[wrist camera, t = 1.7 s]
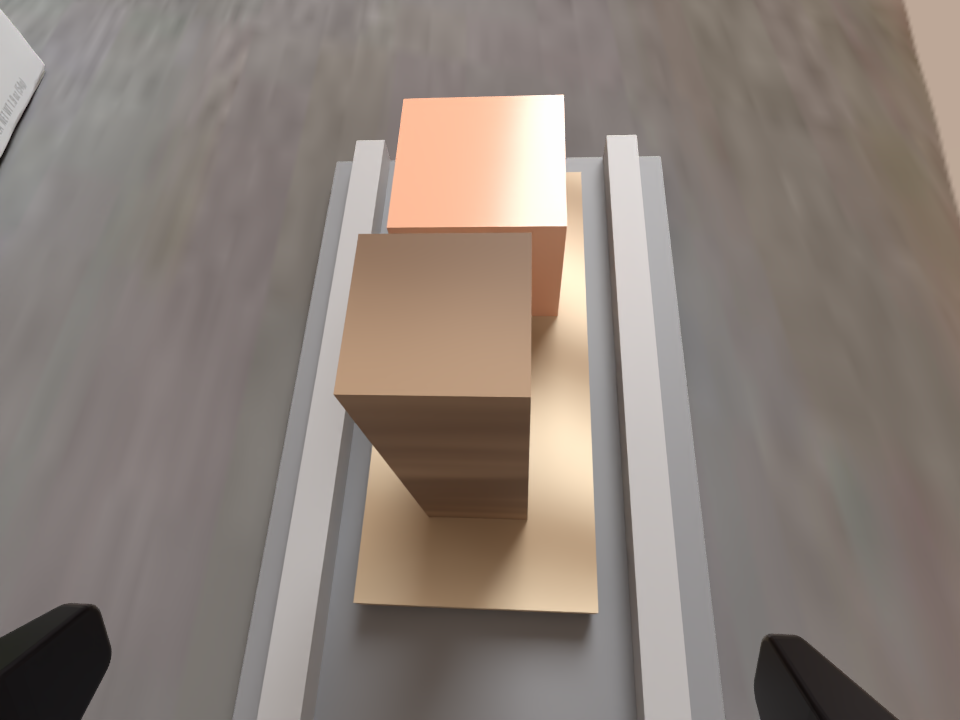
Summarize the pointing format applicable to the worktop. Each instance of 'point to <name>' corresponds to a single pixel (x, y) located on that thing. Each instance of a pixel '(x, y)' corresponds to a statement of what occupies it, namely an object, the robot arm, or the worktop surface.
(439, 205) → the terracotta cube
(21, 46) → the tea box
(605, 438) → the guide board
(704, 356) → the worktop surface
